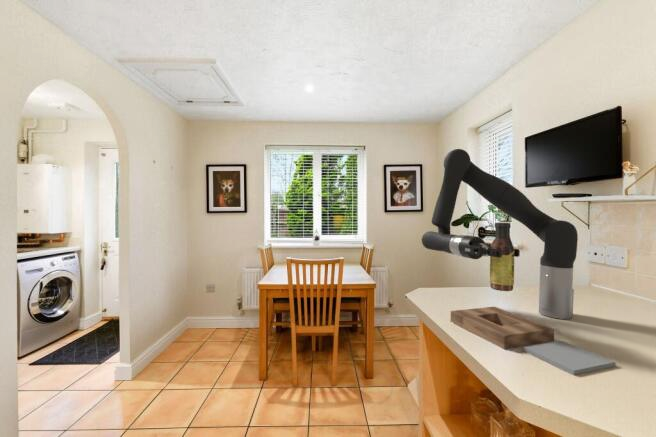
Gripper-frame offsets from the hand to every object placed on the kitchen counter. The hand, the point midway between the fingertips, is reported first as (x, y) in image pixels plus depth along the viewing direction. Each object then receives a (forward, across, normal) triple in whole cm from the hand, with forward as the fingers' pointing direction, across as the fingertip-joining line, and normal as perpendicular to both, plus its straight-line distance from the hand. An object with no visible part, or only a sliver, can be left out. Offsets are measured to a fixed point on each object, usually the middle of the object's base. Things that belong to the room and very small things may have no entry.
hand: (509, 253), depth 87 cm
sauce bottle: (-2, 0, +11) cm, 11 cm away
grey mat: (+15, +2, +24) cm, 28 cm away
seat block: (-3, 0, +24) cm, 24 cm away
